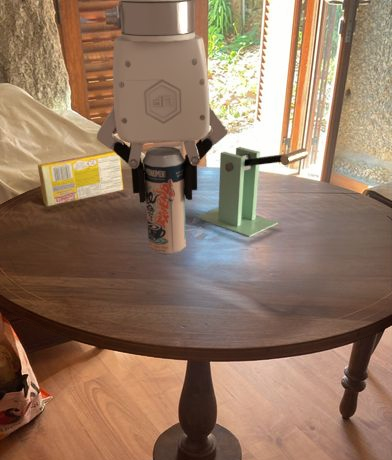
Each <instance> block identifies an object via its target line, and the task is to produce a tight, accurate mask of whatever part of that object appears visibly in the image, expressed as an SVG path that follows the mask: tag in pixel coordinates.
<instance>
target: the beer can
mask: <svg viewBox="0 0 392 460" xmlns="http://www.w3.org/2000/svg"><path fill="white" fill-rule="evenodd" d="M184 159H185V157H184V156H183V154H182V152H181V151H180V148H177V147H174V146H156V147H152V148H148V149H147V150H146V152H145V154H144V157H143V159H142V163H143V166H144V177H145V193H146V201H145V204H146V206H145V207H146V219H147V220H146V221H147V222H146V223H147V238H148V239H147V240H148V243H147V244H148V246H147V247H148V248H149V250H150V251H152V252H154V253H156V254H158V255H163V256H164V255H165V256H166V255H167V256H168V255H169V256H170V255H175V254H178V253H179V252H181V251H182V250H184V249H186V247H187V239H186V197H185V191H184Z"/></svg>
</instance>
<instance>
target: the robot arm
mask: <svg viewBox="0 0 392 460" xmlns="http://www.w3.org/2000/svg"><path fill="white" fill-rule="evenodd" d="M195 4H196V3H195V0H118V4H115V6H116V7H112V8H111V9H110V8H109V9H108V8H107V9H104V14H105V15H104V16H105V25H106V26H113V27H117V29H120V36H117V37H115V38H114V41H113V42H114V43H113V51H112V53H113V54H112V87H113V90H112V92H113V107H112V109H111V110H110V111H109V113H108V115H107V117H106V118H105V120H103V122H102V125H101V126H100V127H99V129H98V131H97V133H96V139H97V141H98V142H100V143H101V144H102V145H104V146H105V147H107V148H108V149H110V150H111V151H114V152H115V153H116V154H117V155H118V156H120V159H122V160H123V161H124V162H125V164H127V165H128V167H129V168H130V171H131V182H132V193H133V194H138V197H139V202H140V204H141V203H145V202H146V192H145V176H144V163H143V160H142V152H143V147H144V144H158V143H159V144H161V143H180V142H181V143H182V142H183V145H184V149H185V153H186V154H185V155H184V191H185V200H187V201H193V191H198V165H199V164H200V163H201V160H202V159H203V158H204V157H205V156H206V155H207V153H209V152H210V151H211V150H212V148H213V146H214V145H217V143H219V142H220V141H222V139H224V138H225V137H226V136H227V135H228V129H227V127H226V126H225V125H224V123H223V122H222V121H221V119H220V118H219V117H218V115H217V114H216V112H215V111H214V110H213V108H212V107H211V105H210V92H209V91H210V90H209V76H208V75H209V74H208V64H207V62H208V61H207V56H206V47H205V43H204V38H203V36H201V35H199V34H196V13H195V10H196V7H195ZM115 130H116V134H117V136H118V137H117V136H116V135H115V134H114V131H115ZM196 141H197V142H196ZM128 144H129V146H128Z"/></svg>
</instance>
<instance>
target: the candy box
mask: <svg viewBox="0 0 392 460" xmlns="http://www.w3.org/2000/svg"><path fill="white" fill-rule="evenodd" d="M121 161H122V160H121V157H120V156H118V155H117V154H116V153H115V152H114V151H113V150H109V151H104V152H100V153H94V154H89V155H84V156H78V157H73V158H68V159H67V158H66V159H63V160H56V161H51V162H47V163H46V162H45V163H41V164H37V170H38V177H39V183H40V189H41V195H42V201H43V204H44V205H45V206H47V207H49V206H54V205H59V204H63V203H64V204H65V203H69V202H74V201H78V200H83V199H87V198H92V197H97V196H100V195H101V196H102V195H105V194H110V193H115V192H120V191H123V190H124V183H123V174H122V173H123V172H122V163H121ZM47 207H44V209H45V210H46V211H51V209H49V208H47Z"/></svg>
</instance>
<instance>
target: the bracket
mask: <svg viewBox="0 0 392 460" xmlns="http://www.w3.org/2000/svg"><path fill="white" fill-rule="evenodd" d="M244 154H249V156H250V158H258V157H261V152H260V151H258V150H254V149H250V148H246V147H242V146H238V147H236V148H235V154H234V153H230V152H228V151H222V152H220V155H219V156H220V161H219V164H220V165H219V186H218V187H219V189H218V207H217V208H215V209H213V210H210V211H207V212H204V213H202V214H199V215H197V216H196V219H199V220H201V221H204V222H207V223H210V224H212V225H215V226H218V227H220V228H223V229H226V230H229V231H231V232H234V233H237V234H240V235H243V236H245V237H248V238H250V237H253V236H255V235H257V234H259V233H261V232H263V231H265V230H267V229H268V230H269V229H270V228H272V227H274V226H276V225H278V223H279V222H277V221H274V220H272V219H268V218H265V217H262V216H259V215H257V214H256V213H257V204H258V203H257V201H258V191H259V190H258V187H259V174H260V165H252V166H251V169H249V170H246V171H244V164H245V157H243V156H239V155H244Z"/></svg>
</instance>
